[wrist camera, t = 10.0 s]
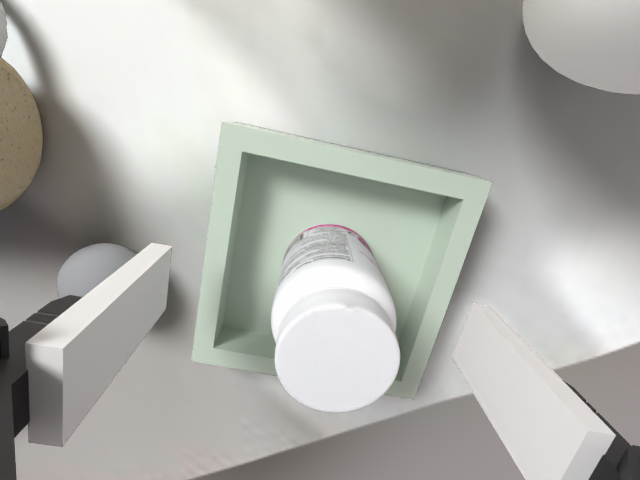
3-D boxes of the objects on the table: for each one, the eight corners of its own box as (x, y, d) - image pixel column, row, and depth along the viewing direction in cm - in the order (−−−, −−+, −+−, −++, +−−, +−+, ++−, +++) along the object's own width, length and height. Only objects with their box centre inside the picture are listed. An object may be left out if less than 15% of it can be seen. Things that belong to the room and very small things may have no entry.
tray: (207, 329, 22) (191, 360, 19) (236, 121, 18) (221, 121, 15) (401, 364, 23) (414, 399, 20) (466, 173, 19) (492, 182, 16)
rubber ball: (87, 292, 21) (36, 330, 17) (89, 226, 20) (34, 251, 16) (158, 305, 21) (123, 345, 17) (163, 241, 20) (127, 269, 16)
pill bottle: (381, 292, 20) (425, 407, 12) (298, 313, 20) (286, 438, 12) (362, 210, 19) (396, 277, 11) (272, 233, 19) (239, 316, 11)
